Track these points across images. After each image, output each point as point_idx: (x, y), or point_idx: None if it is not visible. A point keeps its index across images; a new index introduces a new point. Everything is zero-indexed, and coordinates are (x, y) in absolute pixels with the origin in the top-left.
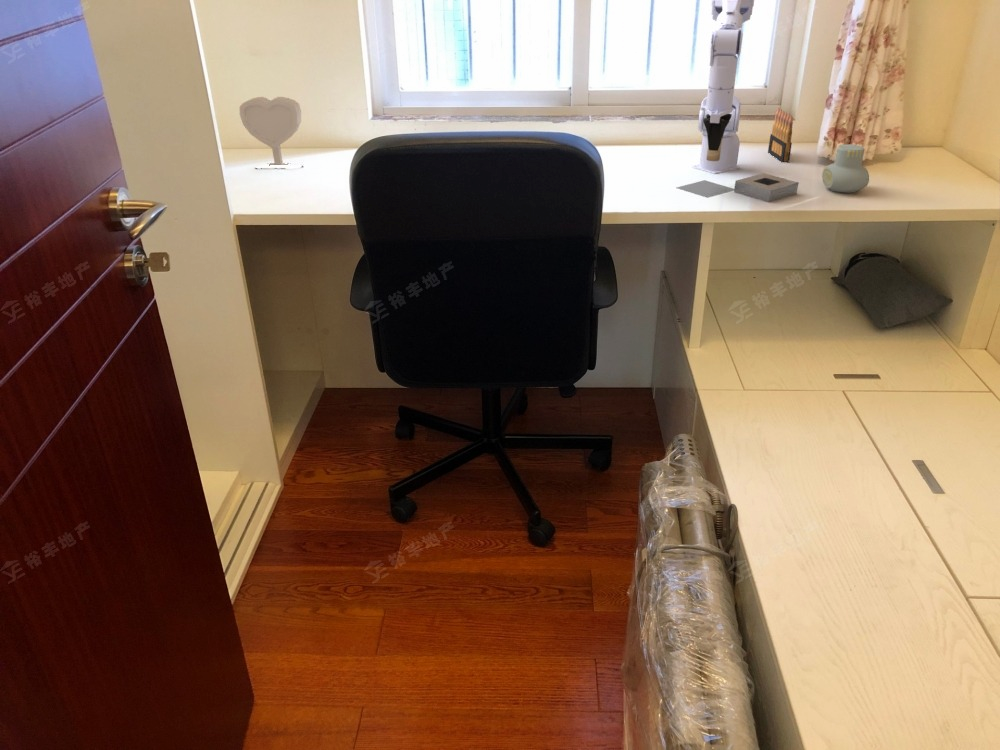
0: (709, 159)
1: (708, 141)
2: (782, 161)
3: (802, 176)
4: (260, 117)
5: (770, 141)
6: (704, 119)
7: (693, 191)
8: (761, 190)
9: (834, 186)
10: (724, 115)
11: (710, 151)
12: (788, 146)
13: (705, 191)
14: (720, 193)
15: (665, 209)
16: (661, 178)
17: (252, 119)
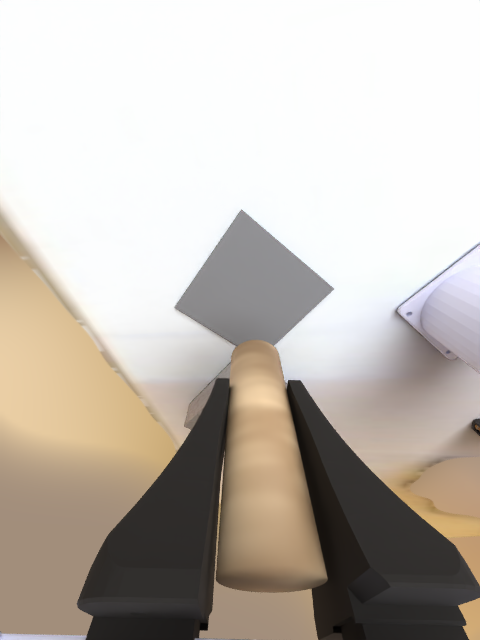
0: (234, 353)
1: (204, 409)
2: (476, 422)
3: (367, 440)
4: None
5: None
6: (105, 603)
7: (216, 269)
8: (195, 411)
9: None
10: (337, 634)
11: (231, 376)
12: None
13: (225, 299)
14: (218, 332)
15: (22, 203)
16: (373, 128)
17: None
